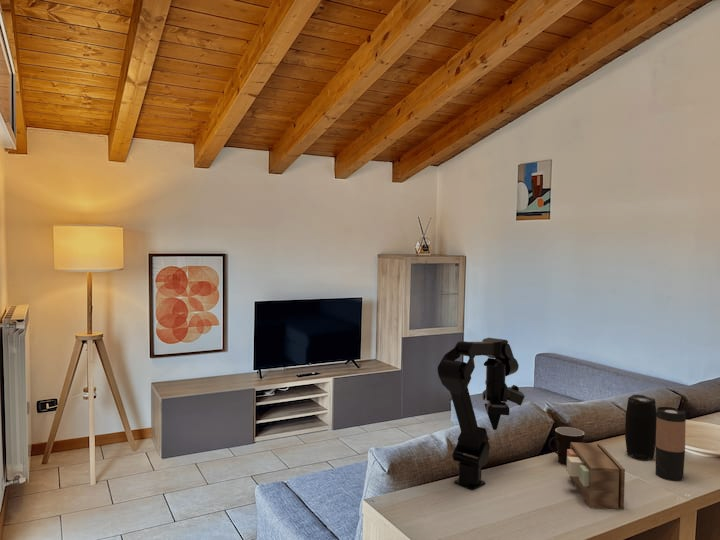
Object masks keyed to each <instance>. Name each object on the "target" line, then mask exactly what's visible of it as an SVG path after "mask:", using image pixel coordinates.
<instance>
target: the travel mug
mask: <svg viewBox="0 0 720 540" xmlns="http://www.w3.org/2000/svg"><path fill="white" fill-rule="evenodd" d="M656 412H657V421H656V447H655V474H656V476H657V477H659V478H660V479H663V480H665V481H666V480H667V481H672V482H681V481H683V480H682V479H684V471H685V458H686V457H685V455H686V422H687V421H686V419H687V418H686V417H687V415H686V411H685V410H678V409H677V408H676V407H672V406H659V407H656Z"/></svg>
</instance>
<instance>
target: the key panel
mask: <svg viewBox="0 0 720 540" xmlns="http://www.w3.org/2000/svg"><path fill="white" fill-rule="evenodd" d="M570 449H574V450H575V451H576V457H581V459H582V460H583V465H586V466H588V467H589V469H590V480H589V486H583V485H582V483H581V482H580V480H579V477H574V476H570V475H569V479H570V480H571V482H572V483H573V485H574V486H575V488H576V489H577V490H578V492H579V493H580V495H581V496H582V498H583V499H584V501H585V502H586V504H587V506H588V507H589V508H591V509H607V510H619V509H620V510H624V509H625V484H626V483H625V477H626V476H625V475H626V471H625V470H626V469H625V468H624V467H623V466H622V464H621V463H620V462H618V460H617V459H615V458H614V457H613V455H612V454H611V453H610V452H609V451H608V450H607V449H606V448H605V447H604V446H603V445H602V444H601V443H598V442H597V443H594V442H593V443H592V442H591V443H590V442H583V443H577V442H570Z"/></svg>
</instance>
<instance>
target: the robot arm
mask: <svg viewBox="0 0 720 540" xmlns="http://www.w3.org/2000/svg"><path fill="white" fill-rule="evenodd" d="M461 356H464V357H465V356H466V357H468V360H467V362H464V361H459V360H457V359H459V358H460V357H461ZM477 356H485V357H487V360H486V361H485V362H483V366H485V368H486V369H485V370H486V371H485V372H486V373H485V383H484V384H485V390H484V391H482V400H483V401H486V403H484V404H483V405H484V408H485V410H486V413H487V416H488V417H487V418H488V419H489V422H490V425H491V428H492V430H494V431H497V430H498V427H499V423H500V419H501V417H502V416H510V406H509V405H508V404H507V402H508V401H509V402H511V403H514V404H516V405H517V406H519V407H520V406H522V405H523V402H524V399H525V394H524V393H523V392H522V391H520V390H519V386H518V385H516V384H513V385H511V386H508V384H507V383H506V377H508V376H510V375H513V374H515V373H517V371H518V370H519V368H520V367H519V363H518V360H517V359H516V358H515V357H514V353H513V350H512V347H511V345H510V344H509V341H508V340H507V339H503V338H493V337H486V338H483V339H482V340H481V341H466V340H465V341H464V340H461V341H458V342H456V344H455V346H454V348H452V349H450V350H449V351H448V352H447V353H445V354H444V355H443V356H442V358H441V360H440V362H439V364H438V366H437V376H438V377H439V380H440V381H441V385H442V386H443V387H445V388H446V390H448V392H449V393H450V397H451V400H452V404H453V408H454V411H455V415H456V418H457V422H458V425H459V430H460V433H459V435H458V437H457V443H456V446H455V448H454V450H453V453H452V460H453V462H459V463H458V478H457V479H455V480H454V484H457V485H459V486H462V487H464V488H466V489H469V490H471V491H472V490H476V489H477V488H479V487H481V486H484V485H485V484H486V481H484V480H482V468H483V467H484V466H486V465H488V460H489V455H490V449H491V446H490V442H489V440H490V438H489V437H488V431H487V429H486V428H485V427H481V426H479V425H478V422H477V418H476V414H475V410H474V406H473V403H472V398H471V395H470V392H469V384H470V382H471V379H472V374H473V372H474V370H475V367H476V366H475V360H474V359H475V357H477ZM476 457H477V458H476Z"/></svg>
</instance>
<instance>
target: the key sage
mask: <svg viewBox="0 0 720 540" xmlns="http://www.w3.org/2000/svg"><path fill="white" fill-rule="evenodd" d="M579 480H580V482H581V483H582V485H583V486H589V480H590V469H589V467H588V466H586V465H579Z"/></svg>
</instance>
